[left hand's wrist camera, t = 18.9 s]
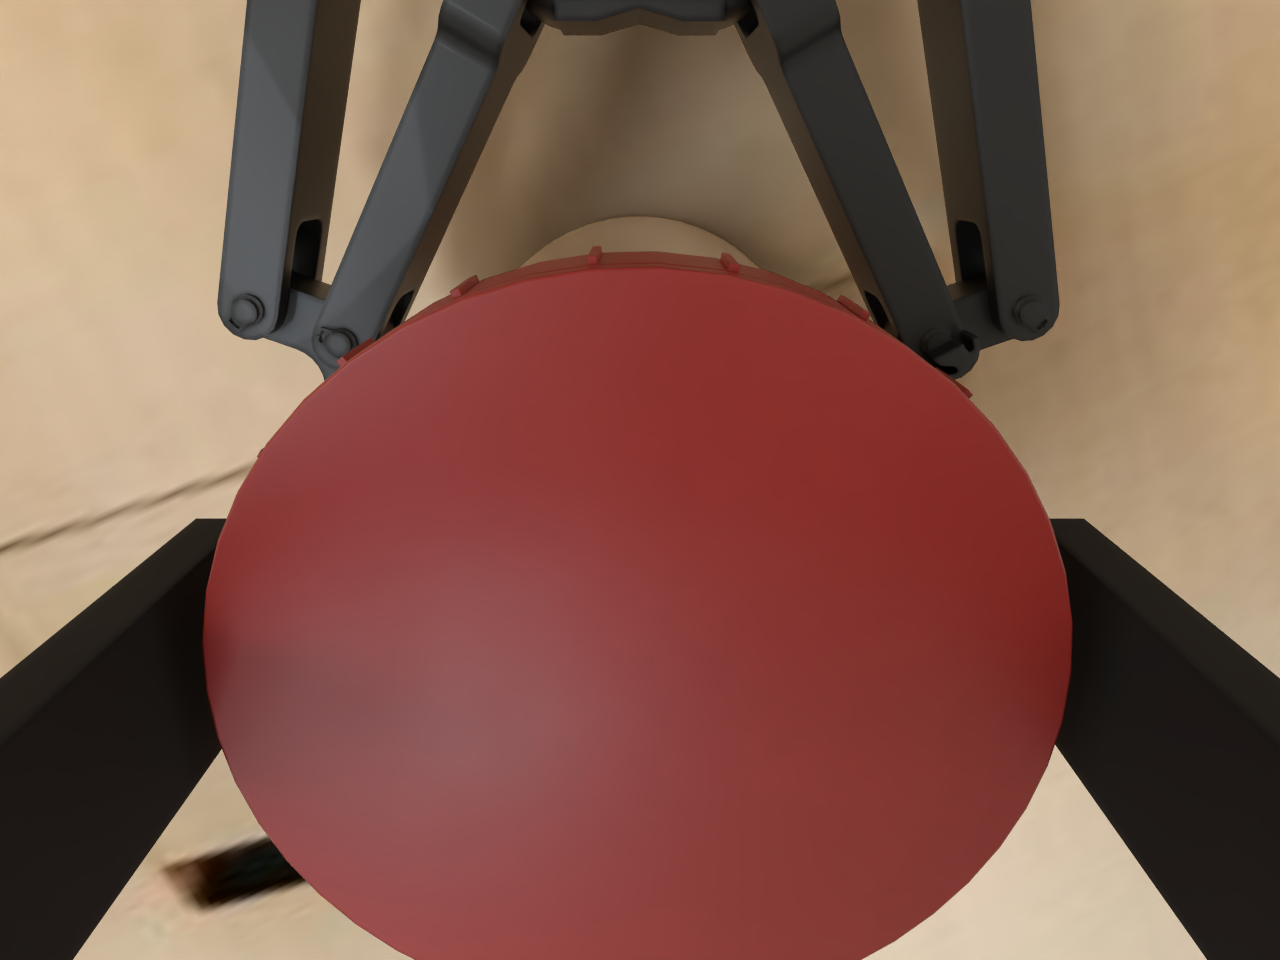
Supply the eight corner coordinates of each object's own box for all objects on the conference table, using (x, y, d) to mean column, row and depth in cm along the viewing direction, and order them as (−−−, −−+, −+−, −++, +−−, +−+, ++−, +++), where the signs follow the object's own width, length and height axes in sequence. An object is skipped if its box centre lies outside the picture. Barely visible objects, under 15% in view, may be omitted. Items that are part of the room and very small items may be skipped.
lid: (1050, 203, 10) (1123, 211, 9) (998, 901, 14) (1042, 993, 12) (158, 285, 10) (75, 308, 9) (345, 945, 14) (310, 1040, 13)
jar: (428, 443, 27) (169, 793, 12) (568, 151, 24) (451, 141, 9) (698, 576, 28) (760, 1027, 14) (861, 318, 25) (1166, 540, 11)
